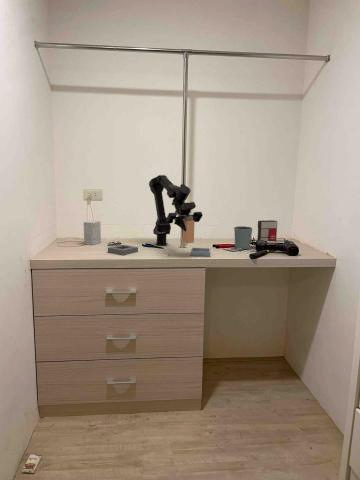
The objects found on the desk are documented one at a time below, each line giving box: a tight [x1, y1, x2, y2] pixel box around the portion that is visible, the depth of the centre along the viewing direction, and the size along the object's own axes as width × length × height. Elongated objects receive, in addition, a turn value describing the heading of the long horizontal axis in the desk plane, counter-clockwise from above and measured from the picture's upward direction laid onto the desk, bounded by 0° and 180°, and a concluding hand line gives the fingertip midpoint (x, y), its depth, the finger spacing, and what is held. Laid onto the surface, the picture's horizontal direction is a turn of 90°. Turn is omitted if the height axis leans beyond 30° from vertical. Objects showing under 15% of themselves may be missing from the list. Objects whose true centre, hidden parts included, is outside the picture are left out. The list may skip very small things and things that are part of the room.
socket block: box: [107, 244, 139, 256], centre depth 196 cm, size 11×11×4 cm
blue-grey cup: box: [233, 225, 253, 250], centre depth 216 cm, size 10×10×12 cm
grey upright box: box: [256, 219, 278, 243], centre depth 224 cm, size 11×4×15 cm, turn 105°
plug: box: [181, 216, 196, 244], centre depth 191 cm, size 5×4×13 cm
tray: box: [190, 247, 212, 258], centre depth 198 cm, size 10×10×2 cm
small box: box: [83, 220, 102, 246], centre depth 220 cm, size 8×6×13 cm
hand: (189, 230), depth 190 cm, fingers closed on plug, 4 cm apart
